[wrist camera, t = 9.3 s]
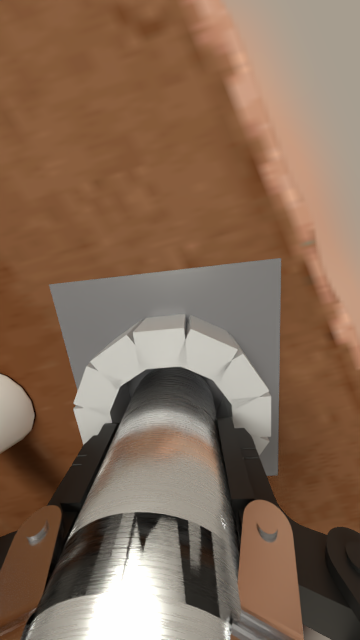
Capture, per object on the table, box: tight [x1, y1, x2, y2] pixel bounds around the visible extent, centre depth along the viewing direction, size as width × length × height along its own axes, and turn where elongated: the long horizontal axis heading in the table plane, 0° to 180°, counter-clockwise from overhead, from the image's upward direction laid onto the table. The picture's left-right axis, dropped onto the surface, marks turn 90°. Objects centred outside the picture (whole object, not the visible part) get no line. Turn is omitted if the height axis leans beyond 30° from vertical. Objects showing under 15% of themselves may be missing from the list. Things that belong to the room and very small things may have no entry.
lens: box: [24, 367, 241, 640], centre depth 8 cm, size 5×5×9 cm
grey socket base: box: [49, 258, 281, 476], centre depth 14 cm, size 14×16×8 cm
